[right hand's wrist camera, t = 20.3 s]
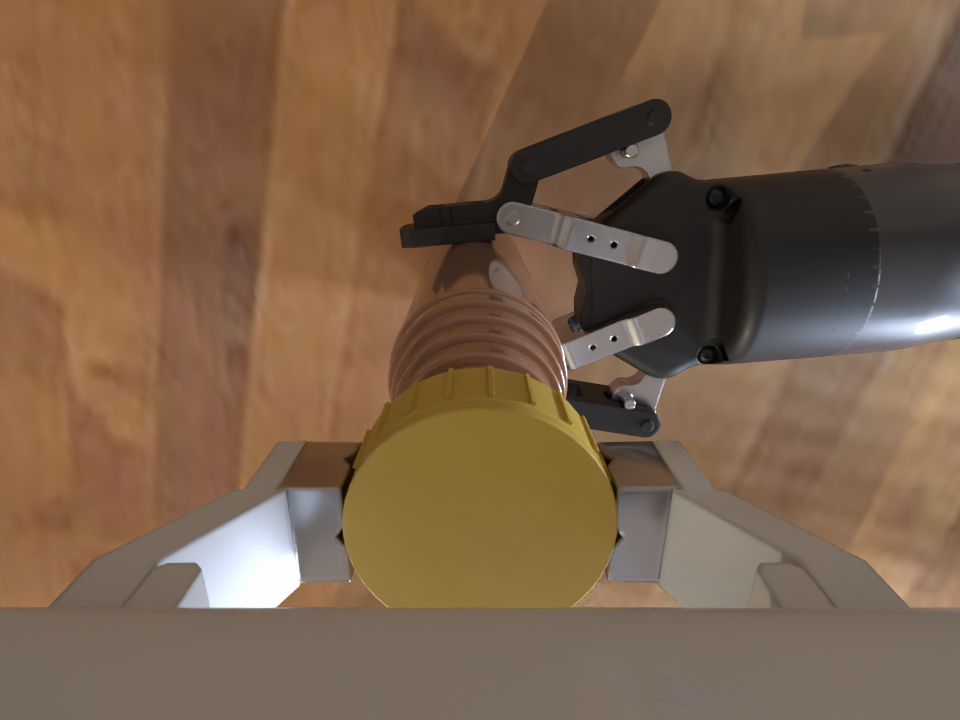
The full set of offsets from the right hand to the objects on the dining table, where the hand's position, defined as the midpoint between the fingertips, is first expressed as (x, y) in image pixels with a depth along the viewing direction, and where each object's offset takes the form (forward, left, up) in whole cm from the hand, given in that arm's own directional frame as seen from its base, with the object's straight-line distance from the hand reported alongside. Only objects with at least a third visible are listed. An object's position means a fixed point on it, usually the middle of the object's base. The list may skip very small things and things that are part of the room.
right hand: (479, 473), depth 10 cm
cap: (0, 0, +2) cm, 2 cm away
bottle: (0, 0, -20) cm, 20 cm away
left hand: (+2, +2, -14) cm, 14 cm away
